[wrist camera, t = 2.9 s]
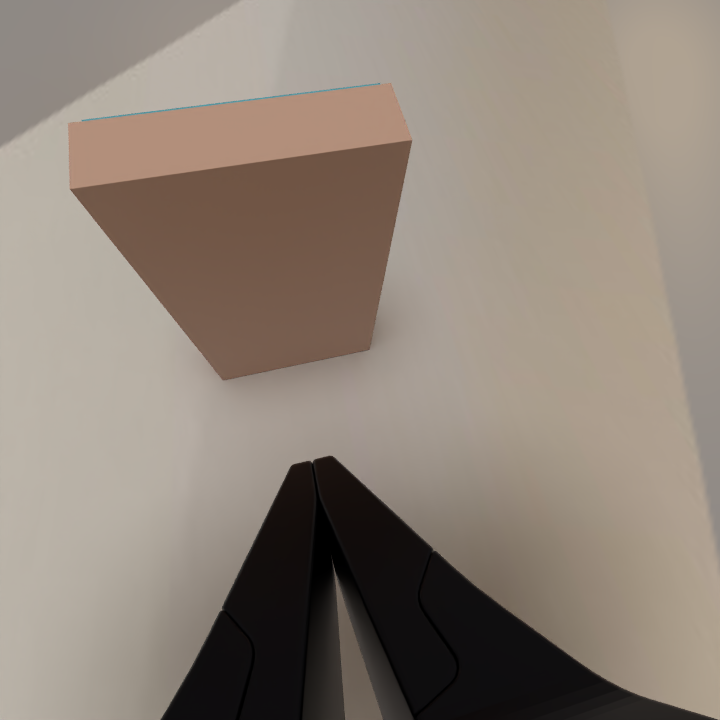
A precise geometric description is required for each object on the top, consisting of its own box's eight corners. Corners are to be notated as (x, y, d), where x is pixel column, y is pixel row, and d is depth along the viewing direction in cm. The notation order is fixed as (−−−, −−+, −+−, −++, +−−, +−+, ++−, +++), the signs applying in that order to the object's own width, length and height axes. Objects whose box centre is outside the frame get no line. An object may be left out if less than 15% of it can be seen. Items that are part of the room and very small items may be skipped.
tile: (369, 349, 24) (412, 139, 11) (223, 380, 23) (69, 188, 10) (359, 313, 24) (388, 75, 11) (217, 340, 23) (68, 113, 10)
